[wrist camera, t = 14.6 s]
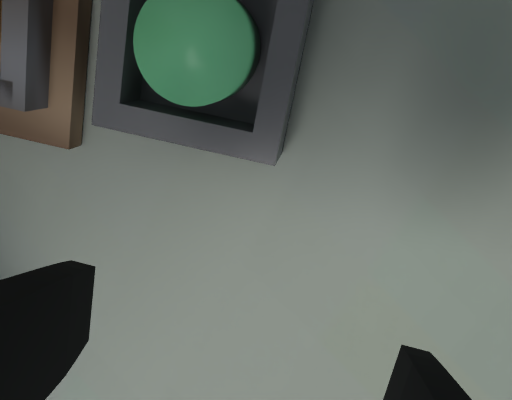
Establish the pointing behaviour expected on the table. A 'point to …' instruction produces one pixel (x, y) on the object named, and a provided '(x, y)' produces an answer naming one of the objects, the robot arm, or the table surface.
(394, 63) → the table surface
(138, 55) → the button
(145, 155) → the table surface
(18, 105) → the framed wooden tray
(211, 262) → the table surface
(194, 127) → the button housing
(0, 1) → the block
